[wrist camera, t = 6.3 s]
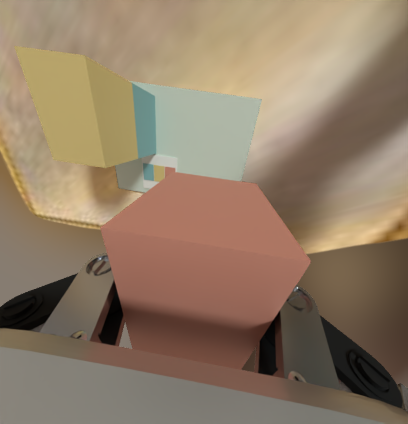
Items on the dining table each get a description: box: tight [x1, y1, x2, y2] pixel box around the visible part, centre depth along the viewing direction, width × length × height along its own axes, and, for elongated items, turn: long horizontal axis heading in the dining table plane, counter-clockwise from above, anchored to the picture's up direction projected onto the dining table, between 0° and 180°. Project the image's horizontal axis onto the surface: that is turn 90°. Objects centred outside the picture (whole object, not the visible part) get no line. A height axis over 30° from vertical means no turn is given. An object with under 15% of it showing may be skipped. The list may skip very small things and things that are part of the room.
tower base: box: [14, 46, 156, 168], centre depth 17 cm, size 8×5×12 cm, turn 173°
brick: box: [100, 172, 311, 370], centre depth 8 cm, size 8×5×6 cm, turn 173°
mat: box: [115, 81, 262, 193], centre depth 24 cm, size 16×22×1 cm
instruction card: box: [142, 154, 177, 189], centre depth 25 cm, size 6×6×1 cm
